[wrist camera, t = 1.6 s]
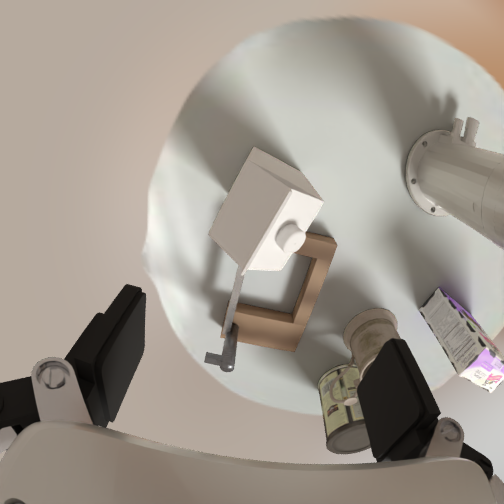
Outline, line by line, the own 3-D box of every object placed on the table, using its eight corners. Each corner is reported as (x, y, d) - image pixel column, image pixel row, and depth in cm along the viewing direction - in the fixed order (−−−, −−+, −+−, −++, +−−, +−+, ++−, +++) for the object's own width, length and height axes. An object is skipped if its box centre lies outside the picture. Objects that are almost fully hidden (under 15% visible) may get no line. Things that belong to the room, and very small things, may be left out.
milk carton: (228, 193, 39) (198, 254, 22) (253, 146, 36) (243, 165, 19) (275, 218, 40) (283, 295, 23) (302, 172, 37) (335, 216, 20)
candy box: (473, 315, 46) (515, 370, 31) (453, 337, 48) (490, 395, 33) (438, 285, 43) (488, 346, 28) (416, 311, 46) (458, 377, 30)
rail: (247, 221, 40) (245, 233, 36) (256, 223, 40) (255, 235, 36) (225, 315, 47) (221, 333, 43) (232, 317, 47) (229, 335, 43)
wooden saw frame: (248, 217, 40) (247, 223, 38) (333, 238, 41) (337, 245, 39) (222, 327, 48) (220, 337, 46) (293, 342, 49) (294, 351, 46)
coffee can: (358, 397, 55) (372, 452, 42) (311, 397, 55) (318, 455, 42) (376, 363, 51) (397, 421, 38) (326, 361, 50) (338, 425, 37)
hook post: (214, 318, 44) (205, 357, 36) (240, 324, 44) (235, 364, 37) (212, 327, 45) (203, 366, 37) (237, 333, 45) (232, 373, 37)
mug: (387, 298, 45) (414, 346, 34) (402, 335, 48) (426, 382, 37) (309, 339, 48) (318, 394, 37) (333, 371, 51) (343, 422, 40)
